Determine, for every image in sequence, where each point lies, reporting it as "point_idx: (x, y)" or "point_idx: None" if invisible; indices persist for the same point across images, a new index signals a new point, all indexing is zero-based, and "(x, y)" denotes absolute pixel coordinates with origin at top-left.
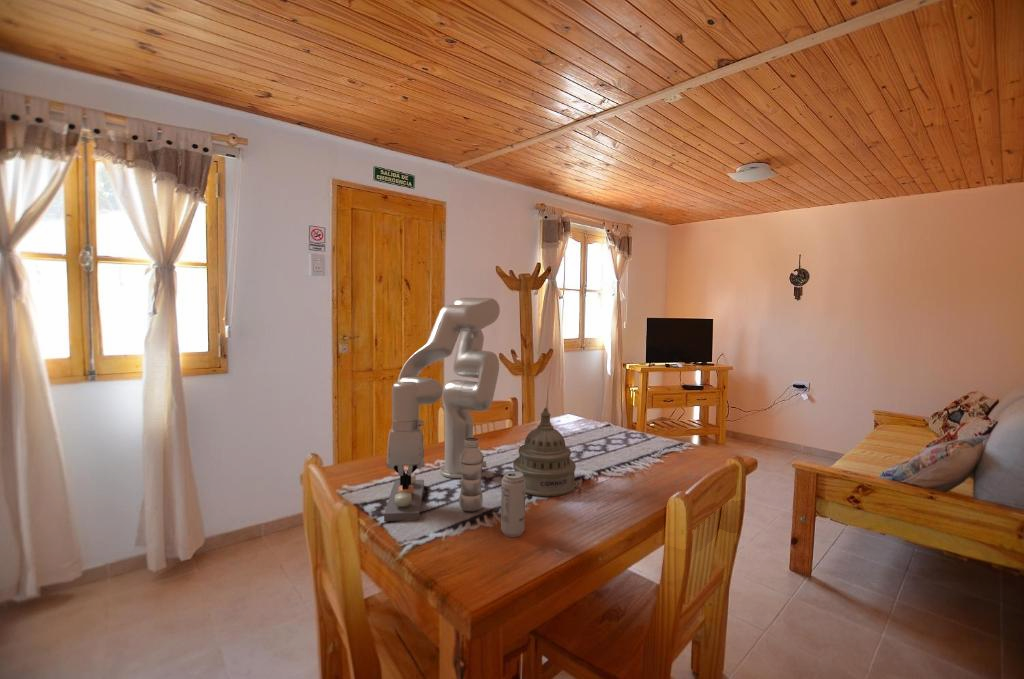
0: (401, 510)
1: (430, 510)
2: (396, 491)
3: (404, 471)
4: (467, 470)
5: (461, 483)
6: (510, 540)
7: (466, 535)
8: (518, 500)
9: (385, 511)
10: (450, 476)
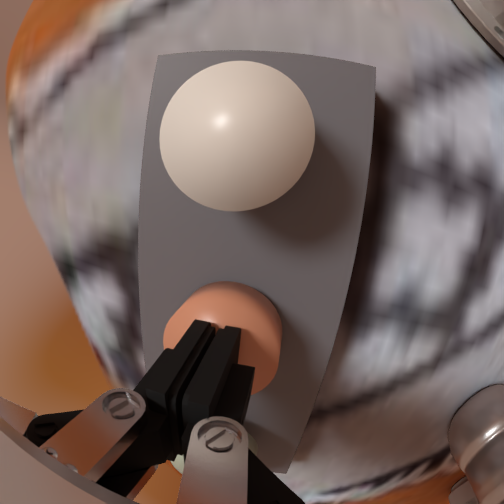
0: None
1: (348, 409)
2: (168, 251)
3: (155, 442)
4: None
5: (485, 487)
6: (445, 497)
7: (385, 499)
8: None
9: None
10: (497, 46)
